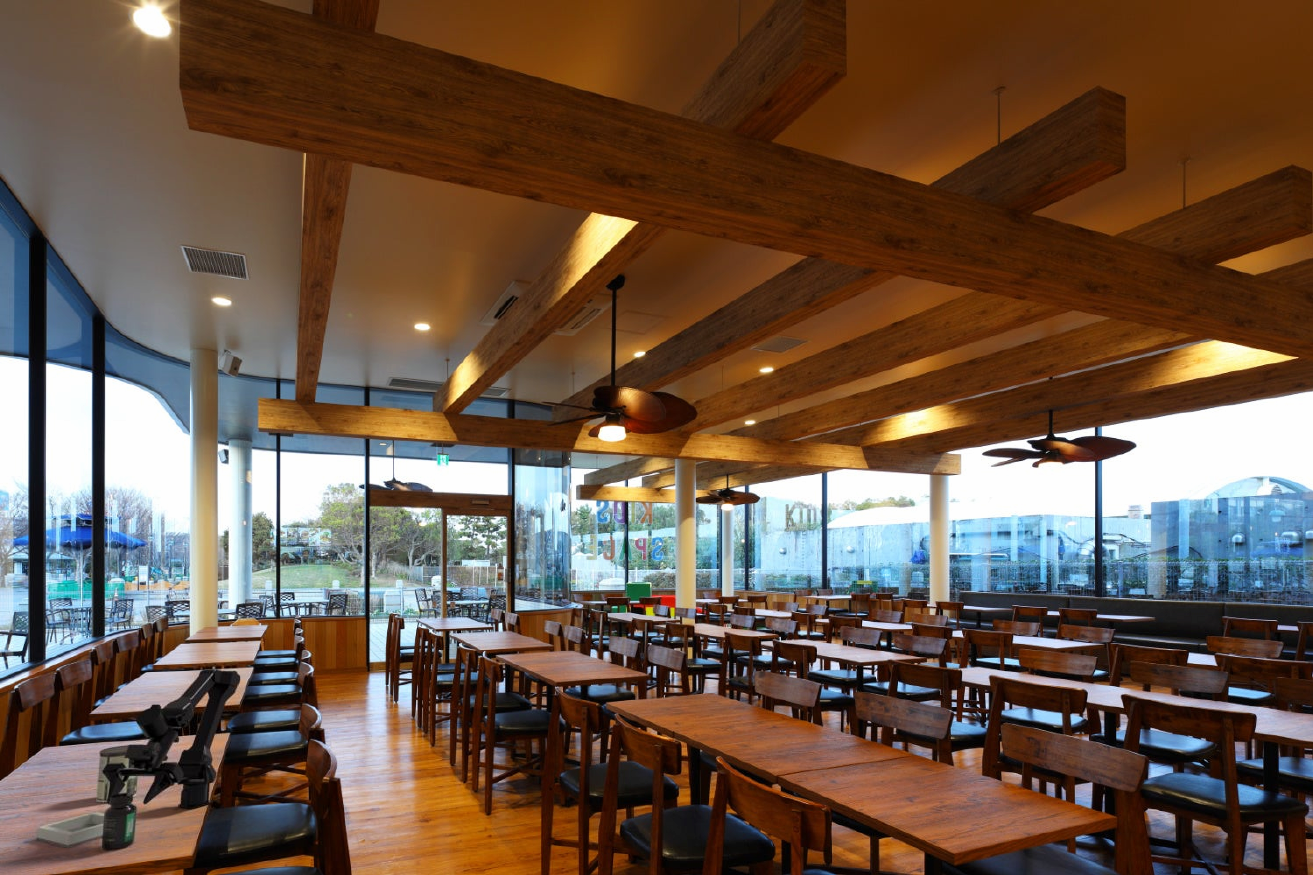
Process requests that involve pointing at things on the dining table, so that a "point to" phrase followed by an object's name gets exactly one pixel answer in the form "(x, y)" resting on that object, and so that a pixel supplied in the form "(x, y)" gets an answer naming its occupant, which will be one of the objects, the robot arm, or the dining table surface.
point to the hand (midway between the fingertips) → (126, 803)
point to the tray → (73, 830)
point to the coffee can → (103, 783)
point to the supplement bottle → (119, 822)
